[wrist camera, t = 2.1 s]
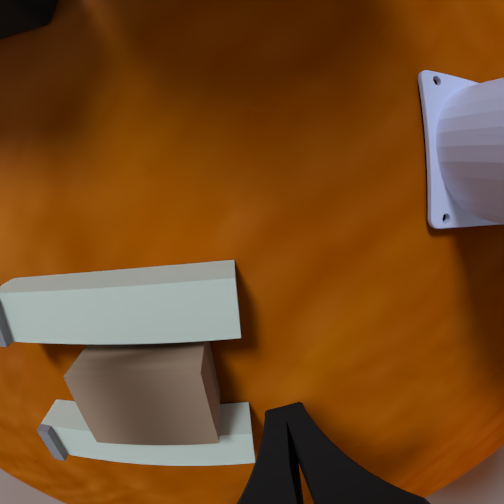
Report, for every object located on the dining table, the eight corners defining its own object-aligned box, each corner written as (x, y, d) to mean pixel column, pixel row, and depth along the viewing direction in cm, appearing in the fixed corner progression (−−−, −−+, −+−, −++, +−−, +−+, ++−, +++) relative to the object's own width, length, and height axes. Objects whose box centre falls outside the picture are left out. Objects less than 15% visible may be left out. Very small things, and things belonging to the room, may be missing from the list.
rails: (234, 259, 14) (235, 283, 11) (252, 431, 17) (256, 470, 14) (14, 277, 13) (-20, 298, 10) (70, 427, 16) (54, 458, 13)
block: (207, 325, 15) (200, 372, 11) (220, 389, 16) (219, 443, 12) (95, 334, 15) (63, 376, 11) (117, 394, 16) (97, 442, 12)
